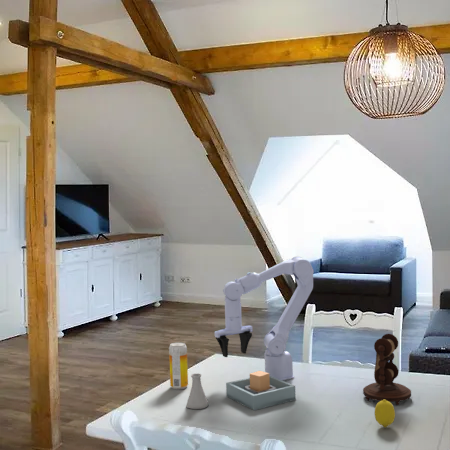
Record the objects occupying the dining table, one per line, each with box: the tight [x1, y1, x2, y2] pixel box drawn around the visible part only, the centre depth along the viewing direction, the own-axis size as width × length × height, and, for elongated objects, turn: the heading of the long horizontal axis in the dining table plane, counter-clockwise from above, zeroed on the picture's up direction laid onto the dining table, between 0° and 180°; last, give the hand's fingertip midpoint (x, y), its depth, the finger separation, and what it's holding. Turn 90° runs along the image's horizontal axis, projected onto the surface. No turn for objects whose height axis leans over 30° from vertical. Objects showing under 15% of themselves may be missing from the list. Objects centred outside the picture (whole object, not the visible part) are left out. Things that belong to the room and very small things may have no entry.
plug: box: [249, 370, 270, 392], centre depth 210 cm, size 4×4×7 cm
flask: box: [185, 372, 209, 410], centre depth 205 cm, size 7×7×10 cm
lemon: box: [374, 399, 396, 428], centre depth 182 cm, size 6×6×8 cm
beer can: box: [168, 341, 189, 390], centre depth 224 cm, size 6×6×15 cm
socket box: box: [225, 375, 297, 411], centre depth 210 cm, size 16×16×4 cm
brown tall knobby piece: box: [362, 333, 412, 406], centre depth 206 cm, size 15×15×20 cm
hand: (234, 354), depth 228 cm, fingers open, 7 cm apart
